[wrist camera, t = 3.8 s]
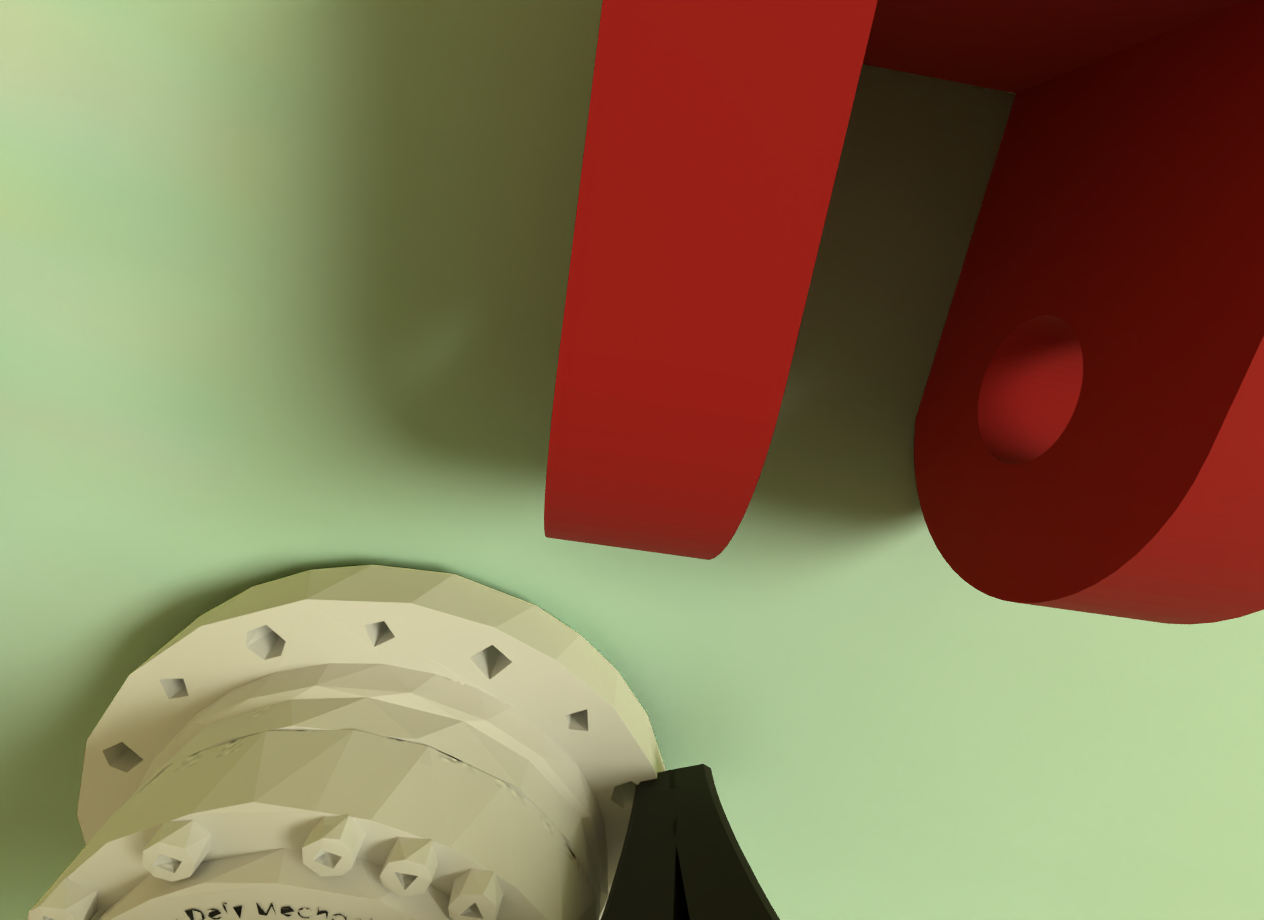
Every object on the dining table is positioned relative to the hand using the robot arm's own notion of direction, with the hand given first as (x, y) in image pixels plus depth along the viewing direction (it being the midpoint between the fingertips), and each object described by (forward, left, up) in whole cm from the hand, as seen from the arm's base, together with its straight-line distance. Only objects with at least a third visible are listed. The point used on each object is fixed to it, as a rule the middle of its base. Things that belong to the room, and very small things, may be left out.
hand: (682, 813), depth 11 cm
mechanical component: (+1, +5, -1) cm, 5 cm away
